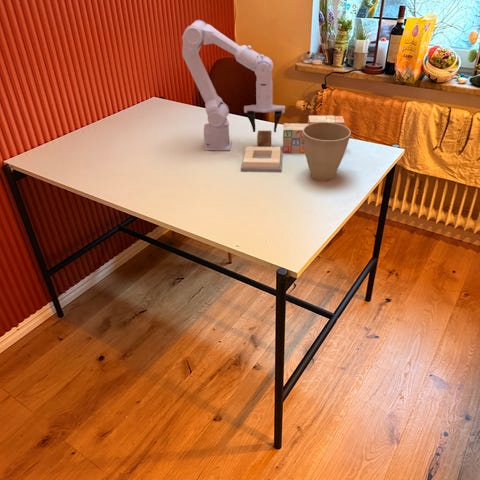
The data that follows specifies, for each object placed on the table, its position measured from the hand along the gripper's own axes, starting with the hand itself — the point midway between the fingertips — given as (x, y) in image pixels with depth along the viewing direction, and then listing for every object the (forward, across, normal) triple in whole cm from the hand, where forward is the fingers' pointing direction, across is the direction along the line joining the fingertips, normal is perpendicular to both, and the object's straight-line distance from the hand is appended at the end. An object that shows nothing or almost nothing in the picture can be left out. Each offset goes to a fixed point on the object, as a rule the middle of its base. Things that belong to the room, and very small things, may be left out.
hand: (264, 131), depth 166 cm
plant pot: (+7, +21, -21) cm, 30 cm away
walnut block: (+7, 0, 0) cm, 7 cm away
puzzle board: (+7, 0, -12) cm, 14 cm away
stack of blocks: (+7, +18, -1) cm, 19 cm away
